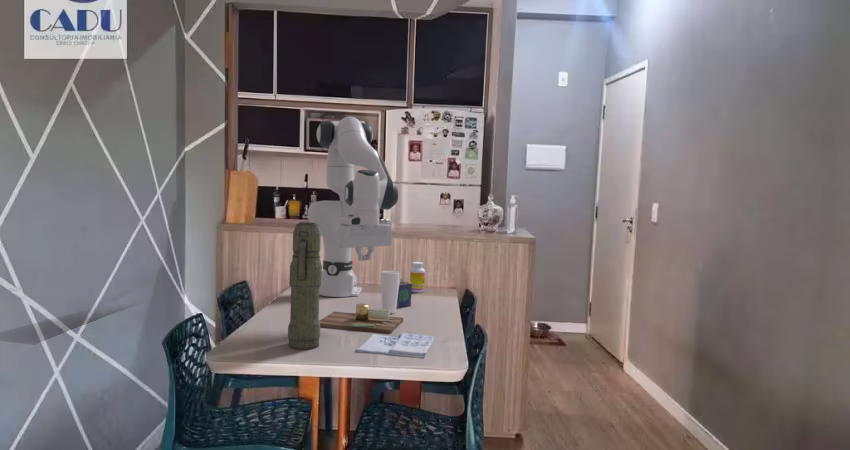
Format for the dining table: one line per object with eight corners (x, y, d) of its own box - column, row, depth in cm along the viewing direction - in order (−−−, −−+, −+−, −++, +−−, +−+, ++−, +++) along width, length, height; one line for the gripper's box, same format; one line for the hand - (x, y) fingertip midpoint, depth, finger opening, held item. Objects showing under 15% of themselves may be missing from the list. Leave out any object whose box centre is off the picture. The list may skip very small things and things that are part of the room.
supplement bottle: (424, 293, 245) (425, 264, 244) (408, 292, 245) (410, 263, 244) (424, 290, 252) (425, 261, 251) (409, 289, 252) (410, 261, 251)
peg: (353, 320, 187) (354, 305, 187) (358, 317, 191) (358, 303, 191) (387, 323, 185) (387, 308, 185) (390, 320, 189) (391, 306, 189)
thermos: (284, 351, 154) (288, 223, 151) (290, 339, 165) (293, 221, 163) (317, 351, 155) (321, 225, 152) (321, 339, 166) (324, 222, 164)
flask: (394, 309, 212) (395, 280, 211) (389, 307, 214) (390, 279, 213) (412, 306, 218) (413, 278, 218) (407, 304, 220) (408, 277, 220)
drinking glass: (395, 315, 202) (397, 273, 201) (377, 313, 203) (378, 272, 202) (400, 311, 208) (401, 271, 207) (382, 309, 210) (384, 269, 209)
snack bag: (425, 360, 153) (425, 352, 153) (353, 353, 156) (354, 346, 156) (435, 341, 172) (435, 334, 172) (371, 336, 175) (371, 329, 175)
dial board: (334, 314, 198) (334, 310, 198) (403, 321, 193) (403, 316, 193) (315, 326, 181) (315, 322, 181) (390, 334, 176) (390, 329, 176)
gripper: (386, 218, 195) (384, 257, 196) (334, 218, 183) (333, 260, 184) (396, 219, 191) (395, 260, 192) (344, 219, 178) (342, 263, 179)
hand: (364, 260), depth 187 cm, fingers closed
